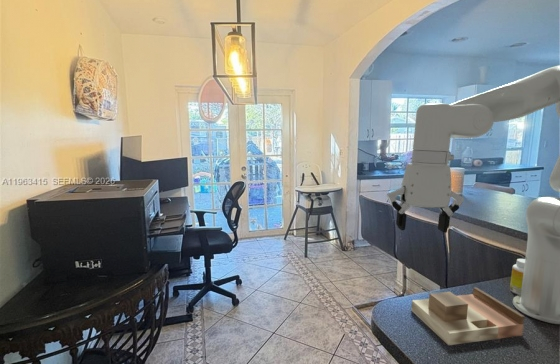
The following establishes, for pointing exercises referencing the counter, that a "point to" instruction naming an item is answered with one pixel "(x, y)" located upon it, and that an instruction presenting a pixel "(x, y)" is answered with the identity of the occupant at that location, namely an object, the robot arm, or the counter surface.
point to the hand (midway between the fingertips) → (421, 229)
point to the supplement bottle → (517, 276)
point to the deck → (473, 320)
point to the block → (448, 306)
